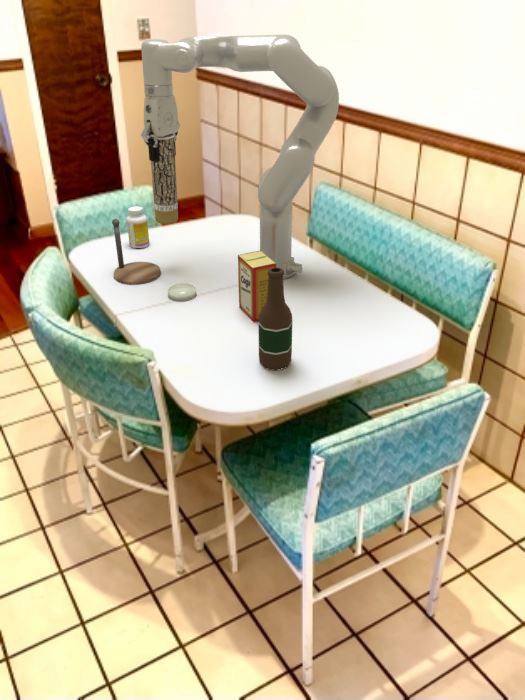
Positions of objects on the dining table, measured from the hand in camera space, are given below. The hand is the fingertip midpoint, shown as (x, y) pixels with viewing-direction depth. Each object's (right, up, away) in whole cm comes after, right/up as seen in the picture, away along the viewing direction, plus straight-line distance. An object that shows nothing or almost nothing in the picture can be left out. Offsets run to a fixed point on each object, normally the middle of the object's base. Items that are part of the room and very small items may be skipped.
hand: (162, 157), depth 180 cm
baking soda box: (+27, -44, -6) cm, 52 cm away
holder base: (-10, -31, +15) cm, 36 cm away
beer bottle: (+31, -57, -28) cm, 71 cm away
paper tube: (0, -16, +10) cm, 19 cm away
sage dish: (+5, -39, +3) cm, 39 cm away
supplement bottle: (-13, -19, +35) cm, 42 cm away
